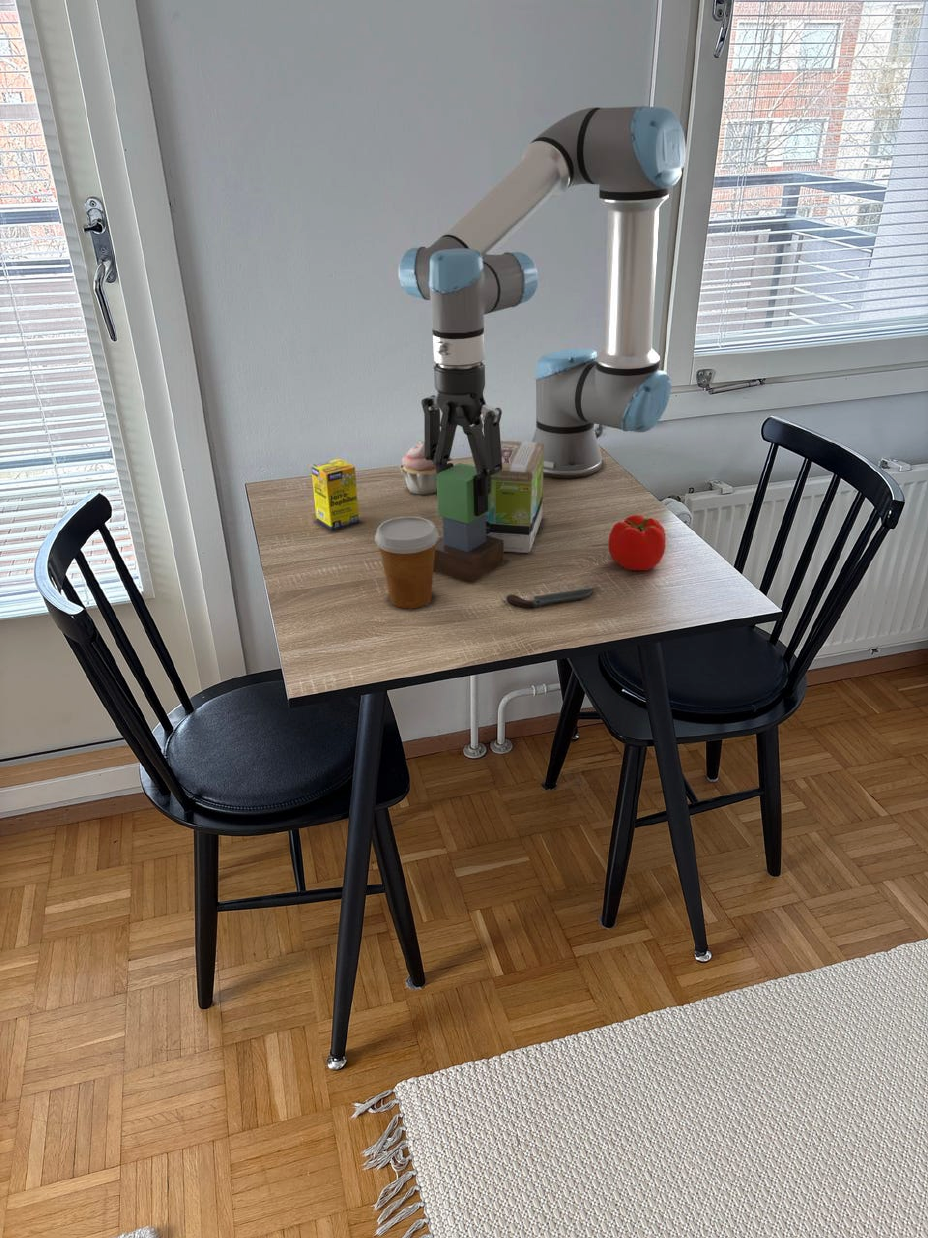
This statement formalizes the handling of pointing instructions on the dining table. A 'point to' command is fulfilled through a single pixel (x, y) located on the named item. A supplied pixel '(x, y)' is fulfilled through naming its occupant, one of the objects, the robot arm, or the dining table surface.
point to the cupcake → (419, 471)
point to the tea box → (517, 496)
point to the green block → (457, 493)
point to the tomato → (637, 543)
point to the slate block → (464, 533)
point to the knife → (550, 597)
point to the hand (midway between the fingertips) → (464, 508)
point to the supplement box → (335, 494)
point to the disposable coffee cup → (408, 559)
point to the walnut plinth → (468, 559)
